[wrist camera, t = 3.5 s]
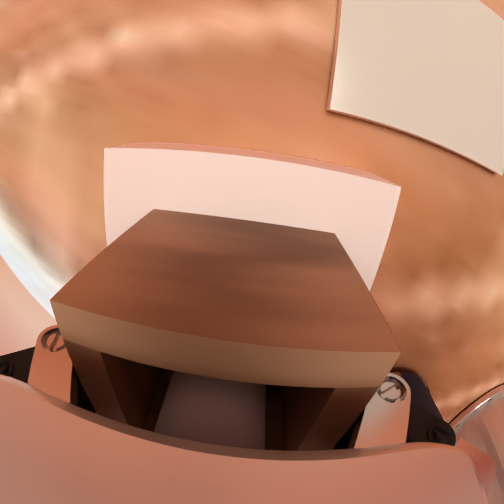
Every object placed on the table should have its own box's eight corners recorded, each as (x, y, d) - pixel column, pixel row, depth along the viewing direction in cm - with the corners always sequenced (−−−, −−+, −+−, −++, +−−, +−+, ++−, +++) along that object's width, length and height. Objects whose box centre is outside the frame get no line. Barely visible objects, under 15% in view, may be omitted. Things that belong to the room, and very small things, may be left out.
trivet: (497, 22, 7) (504, 20, 6) (494, 173, 12) (502, 176, 11) (341, -58, 6) (344, -65, 6) (325, 110, 11) (329, 109, 11)
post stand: (365, 170, 12) (549, 283, 2) (316, 342, 17) (341, 505, 7) (145, 141, 12) (-60, 200, 2) (149, 319, 17) (79, 466, 7)
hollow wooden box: (334, 233, 10) (401, 352, 4) (296, 362, 12) (305, 476, 7) (153, 208, 10) (50, 299, 4) (160, 342, 12) (117, 447, 7)
